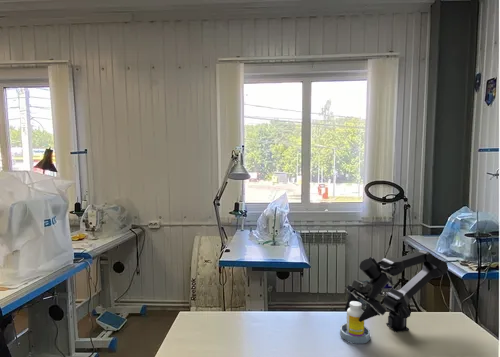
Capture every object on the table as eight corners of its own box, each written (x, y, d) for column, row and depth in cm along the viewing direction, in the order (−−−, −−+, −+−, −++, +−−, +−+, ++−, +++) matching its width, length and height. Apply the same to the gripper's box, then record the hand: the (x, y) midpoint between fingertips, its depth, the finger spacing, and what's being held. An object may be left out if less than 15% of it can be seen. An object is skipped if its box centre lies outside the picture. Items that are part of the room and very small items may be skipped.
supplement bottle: (367, 338, 128) (367, 306, 127) (350, 339, 127) (351, 307, 126) (359, 329, 135) (359, 299, 134) (344, 330, 134) (344, 300, 133)
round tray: (359, 327, 138) (359, 321, 137) (375, 341, 127) (375, 335, 127) (335, 330, 135) (335, 324, 135) (349, 345, 124) (349, 339, 124)
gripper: (350, 265, 139) (327, 294, 137) (380, 281, 122) (354, 314, 119) (365, 281, 142) (343, 309, 140) (396, 299, 125) (372, 331, 122)
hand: (352, 315), depth 130 cm, fingers open, 9 cm apart
